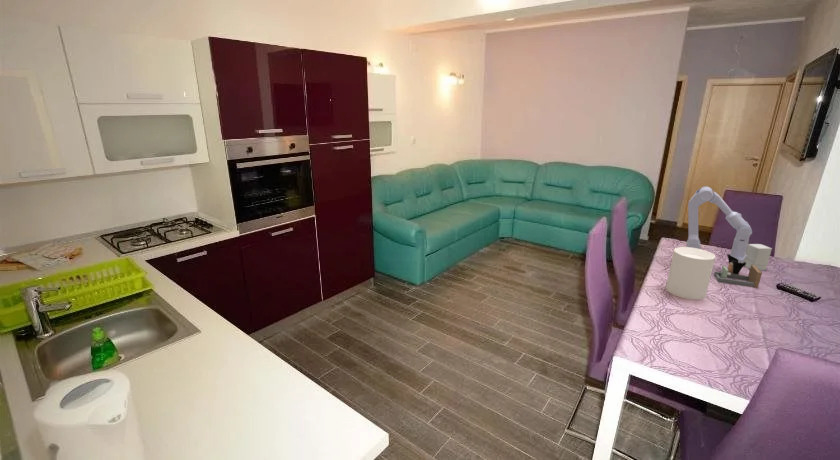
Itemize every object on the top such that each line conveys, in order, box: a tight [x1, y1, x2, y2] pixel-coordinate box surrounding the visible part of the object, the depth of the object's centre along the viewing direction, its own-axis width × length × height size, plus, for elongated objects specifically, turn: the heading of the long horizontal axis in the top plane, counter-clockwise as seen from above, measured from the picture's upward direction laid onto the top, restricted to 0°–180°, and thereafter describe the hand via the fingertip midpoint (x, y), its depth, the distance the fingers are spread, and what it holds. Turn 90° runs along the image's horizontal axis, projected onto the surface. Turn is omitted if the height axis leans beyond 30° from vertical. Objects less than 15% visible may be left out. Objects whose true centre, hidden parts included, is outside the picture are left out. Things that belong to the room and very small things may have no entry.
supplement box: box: [744, 243, 773, 271], centre depth 208 cm, size 7×7×13 cm
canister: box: [665, 246, 716, 301], centre depth 180 cm, size 16×16×20 cm
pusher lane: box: [713, 265, 763, 289], centre depth 193 cm, size 16×10×8 cm, turn 65°
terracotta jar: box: [727, 262, 740, 275], centre depth 201 cm, size 5×5×6 cm
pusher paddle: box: [720, 265, 731, 279], centre depth 195 cm, size 3×6×6 cm, turn 155°
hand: (733, 270), depth 202 cm, fingers open, 7 cm apart
